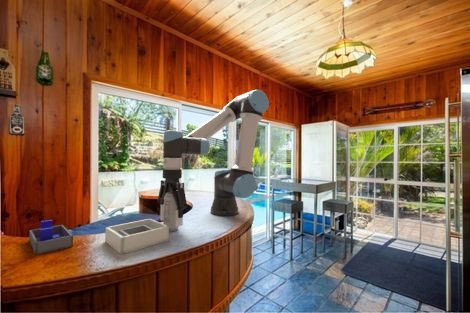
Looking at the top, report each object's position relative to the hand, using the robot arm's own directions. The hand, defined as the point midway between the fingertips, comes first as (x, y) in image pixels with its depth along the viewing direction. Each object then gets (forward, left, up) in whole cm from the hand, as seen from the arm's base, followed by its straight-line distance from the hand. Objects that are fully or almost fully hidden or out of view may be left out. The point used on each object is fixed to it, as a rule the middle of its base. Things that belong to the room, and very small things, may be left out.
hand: (171, 222), depth 90 cm
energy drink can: (0, 0, -3) cm, 3 cm away
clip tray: (+36, -15, -3) cm, 39 cm away
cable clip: (+36, -15, -3) cm, 39 cm away
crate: (+15, +3, -3) cm, 16 cm away
